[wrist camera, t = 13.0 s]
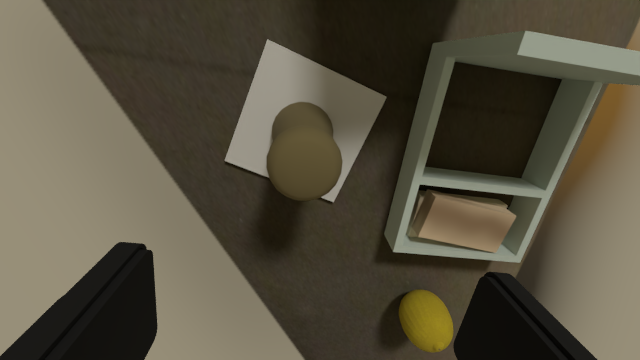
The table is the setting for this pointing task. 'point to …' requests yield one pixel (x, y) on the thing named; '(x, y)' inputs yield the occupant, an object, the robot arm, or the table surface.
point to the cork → (303, 153)
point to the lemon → (426, 320)
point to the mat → (301, 86)
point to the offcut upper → (462, 221)
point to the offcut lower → (421, 194)
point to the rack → (551, 146)
